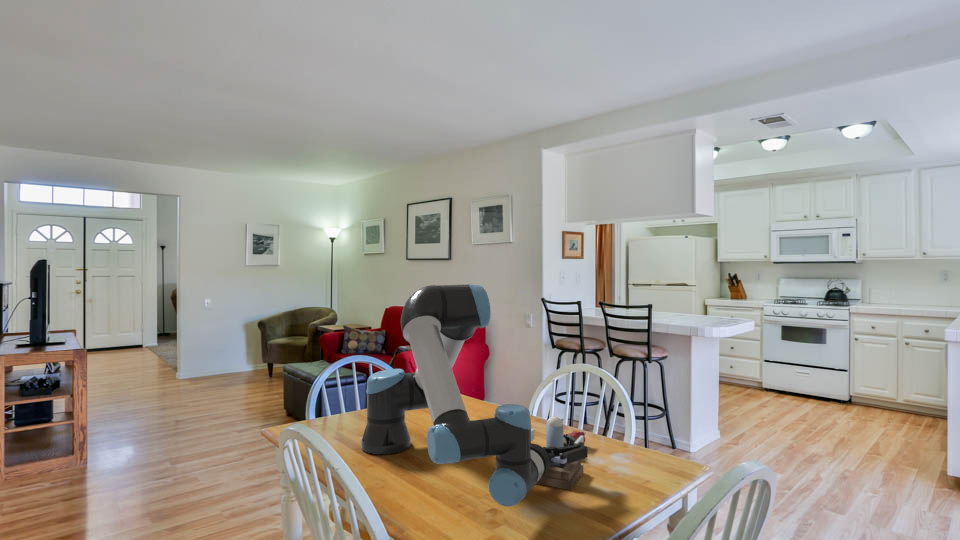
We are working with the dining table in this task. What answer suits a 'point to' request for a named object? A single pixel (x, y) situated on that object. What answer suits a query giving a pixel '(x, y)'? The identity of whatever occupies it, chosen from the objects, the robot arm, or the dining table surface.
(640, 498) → the dining table surface
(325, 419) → the dining table surface
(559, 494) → the dining table surface
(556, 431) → the cylinder
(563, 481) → the cradle
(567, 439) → the figurine
